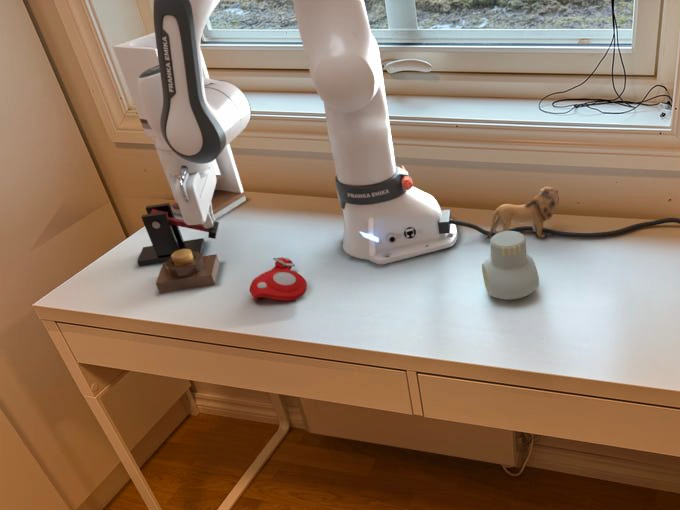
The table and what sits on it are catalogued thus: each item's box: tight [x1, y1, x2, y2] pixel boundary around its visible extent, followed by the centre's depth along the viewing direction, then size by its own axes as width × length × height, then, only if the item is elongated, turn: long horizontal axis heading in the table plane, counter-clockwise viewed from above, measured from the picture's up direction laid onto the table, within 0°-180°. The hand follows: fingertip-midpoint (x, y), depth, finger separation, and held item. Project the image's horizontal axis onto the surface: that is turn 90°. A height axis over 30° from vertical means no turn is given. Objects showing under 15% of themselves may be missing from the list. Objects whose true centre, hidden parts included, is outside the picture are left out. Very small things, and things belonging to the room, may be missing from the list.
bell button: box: [171, 249, 194, 266], centre depth 129 cm, size 4×4×2 cm
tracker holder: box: [249, 256, 308, 302], centre depth 125 cm, size 12×4×10 cm
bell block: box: [155, 251, 221, 294], centre depth 130 cm, size 10×8×4 cm
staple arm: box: [151, 209, 220, 240], centre depth 136 cm, size 12×5×2 cm, turn 101°
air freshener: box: [481, 230, 540, 301], centre depth 117 cm, size 11×8×10 cm
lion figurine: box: [485, 185, 560, 240], centre depth 133 cm, size 15×5×9 cm, turn 103°
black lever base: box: [136, 202, 206, 267], centre depth 137 cm, size 12×6×10 cm, turn 101°
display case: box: [112, 32, 247, 221], centre depth 146 cm, size 11×11×35 cm
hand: (209, 224), depth 138 cm, fingers closed, pressing on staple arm
